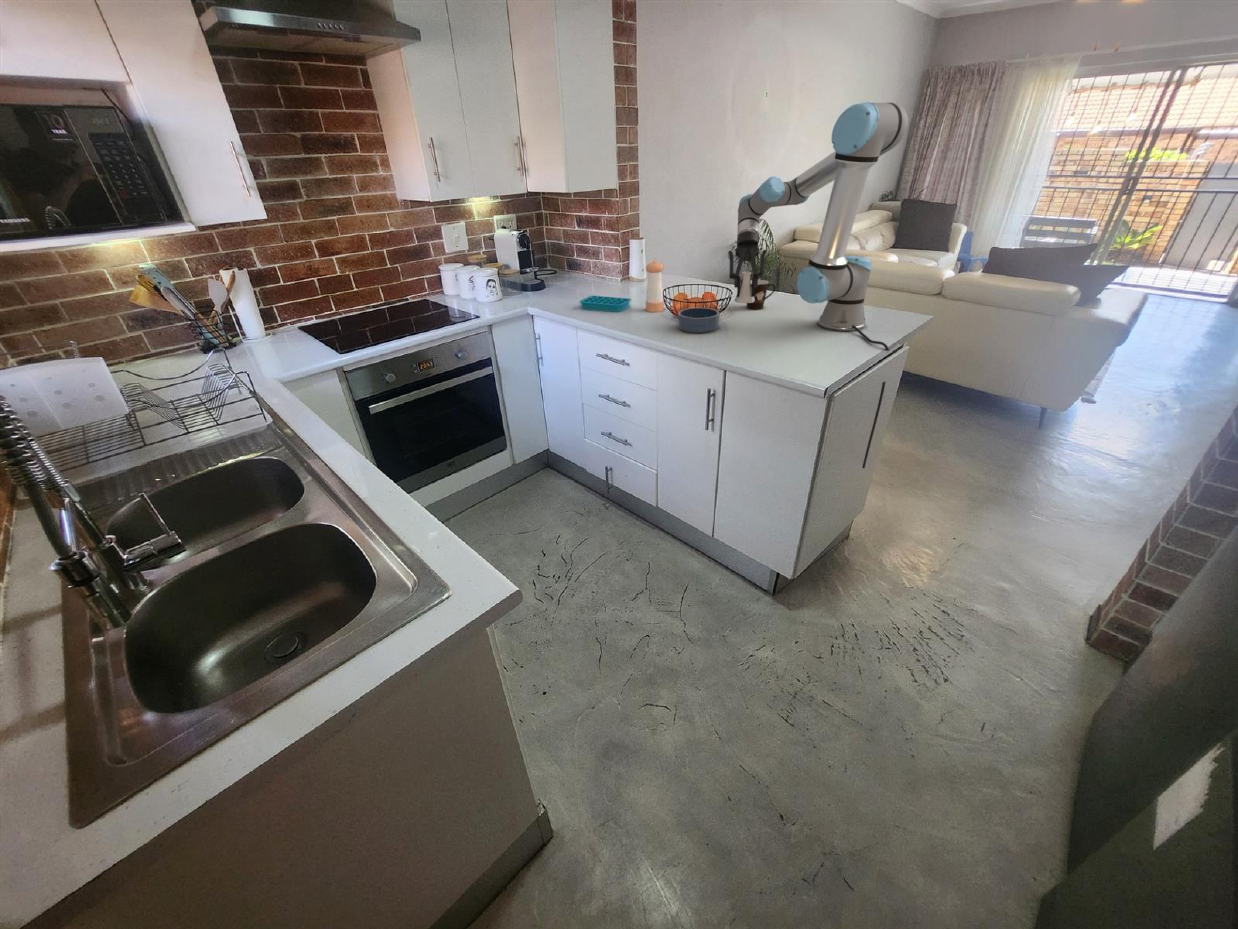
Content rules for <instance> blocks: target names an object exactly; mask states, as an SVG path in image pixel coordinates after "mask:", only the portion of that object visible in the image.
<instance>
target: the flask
mask: <svg viewBox="0 0 1238 929" xmlns="http://www.w3.org/2000/svg"><path fill="white" fill-rule="evenodd" d="M741 275H742V279H741V281H740V295H739V297H737V294H736V296H735V298H734V302H735V303H736V304H737V303H738V304H747V303H753V302H754V301H755V299H754V297H751V292H752V287H751V282H750V280H751V275H752V272H751V271H742V272H741Z"/></svg>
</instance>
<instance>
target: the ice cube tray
mask: <svg viewBox="0 0 1238 929" xmlns="http://www.w3.org/2000/svg"><path fill="white" fill-rule="evenodd" d="M631 301H632V298H627V297H617V296H616V297H615V296H602V295H590V296H588V297H585V298H583V299H581V300H579V301H578V303H580V304H581V309H582V310H592V311H602V312H612V313H620V312H622V311H624V310H626V309H627V308H629V307H630V302H631Z"/></svg>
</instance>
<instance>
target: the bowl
mask: <svg viewBox="0 0 1238 929" xmlns="http://www.w3.org/2000/svg"><path fill="white" fill-rule="evenodd" d="M720 314H721V313H720V311H719V310H717V309H715V308H710V307H689V308H684V309H681V310H680V311H678V313H677V327H678V329H679V330H681V331H683V332H686V333H690V334H705V333H710V332H713V331H715V330H717V329H719V327H720V326H719V325H720Z"/></svg>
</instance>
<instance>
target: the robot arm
mask: <svg viewBox="0 0 1238 929" xmlns="http://www.w3.org/2000/svg"><path fill="white" fill-rule="evenodd" d="M908 127H909V117H908V114H907V111H906V110H905V108H904V107H903V106H902V105H901V104H899V103H895V102H870V101H866V102H859V103H856V104H852V105H850V106H849V107H847V108H846V109H844V111H842V113H841V114H840V115H839V116H838V117H837V120H836V121H835V123H834V125H833V128H832V132H831V144H832V148H833V150H834V151H833V152H832V153H830V154H829V155H827V156H825V157H824V158H822V159H821V160H820V161H818V162H817V163H815V164H814V165H813V166H811V167H809V168H808V169H806V170H805V171H803V172H802V173H800V174H799V175H797V176H796V177H795V178H793V179H792V180H789V181H783V180H782V179H781V178H780V177H777V176H770V177H768V178H767V179H766V180H765V181H763V183H761V185H760V186H759V187H758V188H757V189H756V190H755V191H754V192H753V193H748V194H746V195H744V196H742V197H741V198H740V199H739V202H738V208H737V232H736V233H737V234H736V235H737V236H736V248H735V250H728V254H727V257H728V260H729V279H731V280H732V279H733V280H734V282H733V287H734V288H737V290H736V295H737V297H739V295H740V286H741V276H740V273H741V270H742V266H743V264H744V262H749V263H750V266H751V271H752V272H751V273H752V277H751V280H752V292H751V297H754V287H757V286H758V280H760V279H763V278H764V273H765V272H764V271H765V258H766V257H767V250H766V249H763V250H761V249H760V247H759V240H760V238H759V237H760V236H759V234H760V218H761V217H762V216H763V215H764V214H765V213H766V212H767V211H768V210H770V209H771V208H778V207H785V206H798V205H801V204H804V203H805V202H807V201H808V199H809V198H810V196H811V195H812V194H814V193H816V192H817V191H819V190H820V189H822V188H824V187H825V186H827V185H829V184H831V183H832V182H833V185H832V189H831V193H830V197H829V200H828V204H827V209H826V212H825V217H824V220H823V223H822V227H821V232H820V236H819V239H818V243H817V248H816V251H815V252H814V253H813V254H811V255H809V256H810V257H809V259H808V263H807V266H806V267H804V268H803V269H801V270H800V271H799V273H798V275H797V278H796V290H797V292H798V293H799V296H800V298H801V299H802V300H803V301H804V302H806V303H808V304H821V303H824V302H827V303H826V305H825V307H824V309H823V312H822V313H821V315H820V316H819V319H818V326H819V327H821V328H823V329H826V330H831V331H838V332H854V331H856V332H857V333H858V334H860V335H861V336H862V337H863V338H864V339H865V340H866V341H867V342H869V343H871V344H877V345H881V346H883V347H884V348H885V350H886V351H888V352H889V351H890V349H889V346H888V345H887V343H885V342H883V341H879V340H872V339H871V338H869V337H868V336H867V335H866V334H865V333H864V332H862V329H864V328H865V326H866V318H865V317H866V316H865V306H864V304H865V298H866V293H867V288H868V284H869V279H870V275H871V272H872V260H871V259H870V258H868V257H863V256H858V255H847V254H846V252H847V248H848V245H849V240H850V238H851V235H852V234H851V233H852V231H853V227H854V223H855V220H856V217H857V214H858V209H859V206H860V203H861V199H862V196H863V193H864V189H865V186H866V182H867V179H868V175H869V172H870V169H871V168H872V167H874V166H875V165H876V164H877V163H878V160H879V158H880V157H881V156H883V155H885V154H886V153H888V152H889V151H891V150H893V149H894V148H896V146H898V145H899V144H900V142H902V140H903V139H904V137H905V135H906V133H907V130H908ZM758 255H759V258H760V260H759V272H758V267H757V263H756V257H758ZM736 256H737V258H738V262H737V267H736V269H735V272H734V262H735V261H734V259H735V257H736ZM881 383H882V384H881V389H880V395H879V397H878V398H879V399H878V403H877V408H876V410H875V415H874V418H873V419H874V420H873V423H872V427H871V431H870V433H869V434H870V435H869V437H868V438H869V439H868V443H867V447H866V450H865V454H864V459H863V463H862V466H861V468H862V469H865V468H866V465H867V464H866V463H867V460H868V456H869V452H870V448H871V444H872V440H873V436H874V433H875V428H876V425H877V422H878V418H879V414H880V410H881V405H882V401H883V397H884V392H885V387H886V381H883V382H881Z"/></svg>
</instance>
